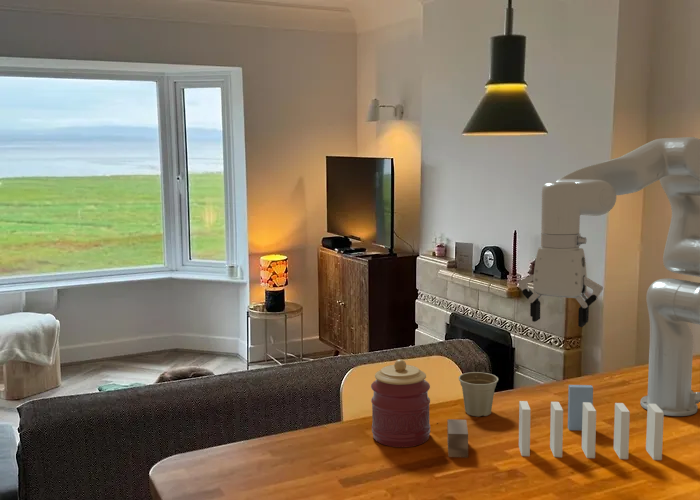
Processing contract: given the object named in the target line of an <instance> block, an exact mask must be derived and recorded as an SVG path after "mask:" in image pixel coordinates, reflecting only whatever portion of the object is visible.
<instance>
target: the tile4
mask: <svg viewBox="0 0 700 500" xmlns="http://www.w3.org/2000/svg"><path fill="white" fill-rule="evenodd" d="M549 421H550V425H549V428H550V429H549V430H550V433H549V434H550V436H549V448H550V450H551V452H552V455H553V457H554V458H563V444H564V443H563V436H564V432H563V431H564V409H563V407H562V405H561V404H560V402H559V401H550V420H549Z"/></svg>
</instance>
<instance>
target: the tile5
mask: <svg viewBox="0 0 700 500" xmlns="http://www.w3.org/2000/svg"><path fill="white" fill-rule="evenodd" d="M518 405H519V406H518V407H519V409H518V410H519V411H518V413H519V414H518V415H519V416H518V448H519V452H520V455H521V456H522V457H530V456H531V455H530V454H531V451H530V450H531V413H532V412H531V407H530V405H529V403H528V400H519V403H518Z"/></svg>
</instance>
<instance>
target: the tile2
mask: <svg viewBox="0 0 700 500" xmlns="http://www.w3.org/2000/svg"><path fill="white" fill-rule="evenodd" d="M630 416H631V412H630V410H629V409H628V408H627V406H626V405H625V403H623V402H615V403H614V418H613V419H614V422H613V424H614V425H613V450H614V452H615V453H616V455H617V456H618V458H619V460H629V450H630V449H629V448H630V447H629V446H630V445H629V444H630V421H631V419H630Z"/></svg>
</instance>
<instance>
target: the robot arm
mask: <svg viewBox="0 0 700 500" xmlns="http://www.w3.org/2000/svg"><path fill="white" fill-rule="evenodd" d="M657 181H659V183H660V186H661V188H662V189H663V191H664V193H665V195H666V197H667V199H668V202H669V204H670V208H671V219H670V224H669V228H668V232H667V236H666V242H665V246H664V250H663V254H662V255H663V257H662V264H663V267H664V268H665V269H666V270H667V271H669V272H671V273H674V274H678V275H679V274H680V275H684V276H690V277H691V276H692V277H698V278H700V138H698V137H694V136H693V137H692V136H688V137H687V136H685V137H663V138H656V139H654V140H651V141H649V142H647V143H645V144H643V145H641V146H638V147H637V148H635V149H633V150H632V151H629V152H627V153H625V154H623V155H622V156H621V155H620V156H619V157H615V158H613V159H608V160H604V161H602V162H599V163H596V164H591V165H588V166H585V167H582V168H579V169H576V170H574V171H572V172H568V174H565V175H564V176H561V177H560V178H558V179H556V181H550V182H549V181H548V182H546V183H544V185H543V186H542V188H541V223H540V224H541V227H540V228H541V231H540V232H541V233H540V236H541V241H540V244H541V245H540V247H538V248H537V252H536V256H535V257H536V258H535V261H534V262H535V263H534V267H533V268H534V269H533V274H531V275H529V276H527V277H524V278H522V279H519V280H518V281H517V282H518V286H519V288H520V289H521V292H522V294H523V296H524V297H525V298H526V299H527V301H528V303H530V304H529V305H530V308H529V311H530V313H529V314H530V316H529V317H530V318H531V321H532V322H533V323H535V322H537V321H540V319H541V300H539V298H541V297H542V296H547V297H557V298H568V299H569V298H571V299H575V300H576V301H577V302H578V303H579V305H580V306H579V308H578V321H577V323H578V327H579V328H583V327H584V326H586V324H587V323H588V322H589V316H590V315H589V312H590V311H589V310H590V306H591V305H592V304H594V302H595V301H597V300H598V298H599V297H600V295H601V293H602V292H603V290H604V287H603V286H602V285H601V284H599V283H597V282H596V281H594V280H592V279H590V278H588V275H587V266H586V265H587V263H586V257H585V250H584V248H582V247H581V245H586V244H587V240H588V239H587V237H585V236H584V237H583V236H581V233H580V223H581V220H580V219H581V218H580V217H581V216H590V217H591V216H592V217H598V216H603V215H606V214H607V213H609V212H611V211H612V209H613V208H614V206H615V204H616V202H617V196H623V195H629V194H633V193H637V192H639V191H642V190H643V189H645V188H646V187H648V186H650V185H652V184H654V183H655V182H657ZM531 282H533V283H532V285H533V291H534V292H533V291H532V290H531V289H530V288H529V283H531ZM588 288H590V289H592V293H591V295H590V296H589V297H588V296H587V294H586V292H587V289H588ZM645 298H646V306H647V312H648V319H649V320H648V321H649V346H648V347H649V348H648V349H649V351H648V354H649V355H648V373H647V374H648V378H647V379H648V380H647V395H644V396H642V398H641V399H640V405H641V407H642V408H643V409H645V410H647V407H648V404H656V405H657V406H658V407H659V408H660V409H661V410H662V411H663V412H664V416H671V417H686V416H687V417H688V416H692V415H694V414H696V413H697V412H698V404H699V403H700V391H695V392H694V391H693V390H692V380H693V379H692V375H693V356H694V354H693V353H694V352H693V351H694V336H693V332H692V329H691V327H690V324H695V325H700V282H696V281H690V280H684V279H677V278H665V277H664V278H660V279H656V280H655V281H653V282H652V283H651V284H650V285H649V287H648V288H647V291H646V295H645Z"/></svg>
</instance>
